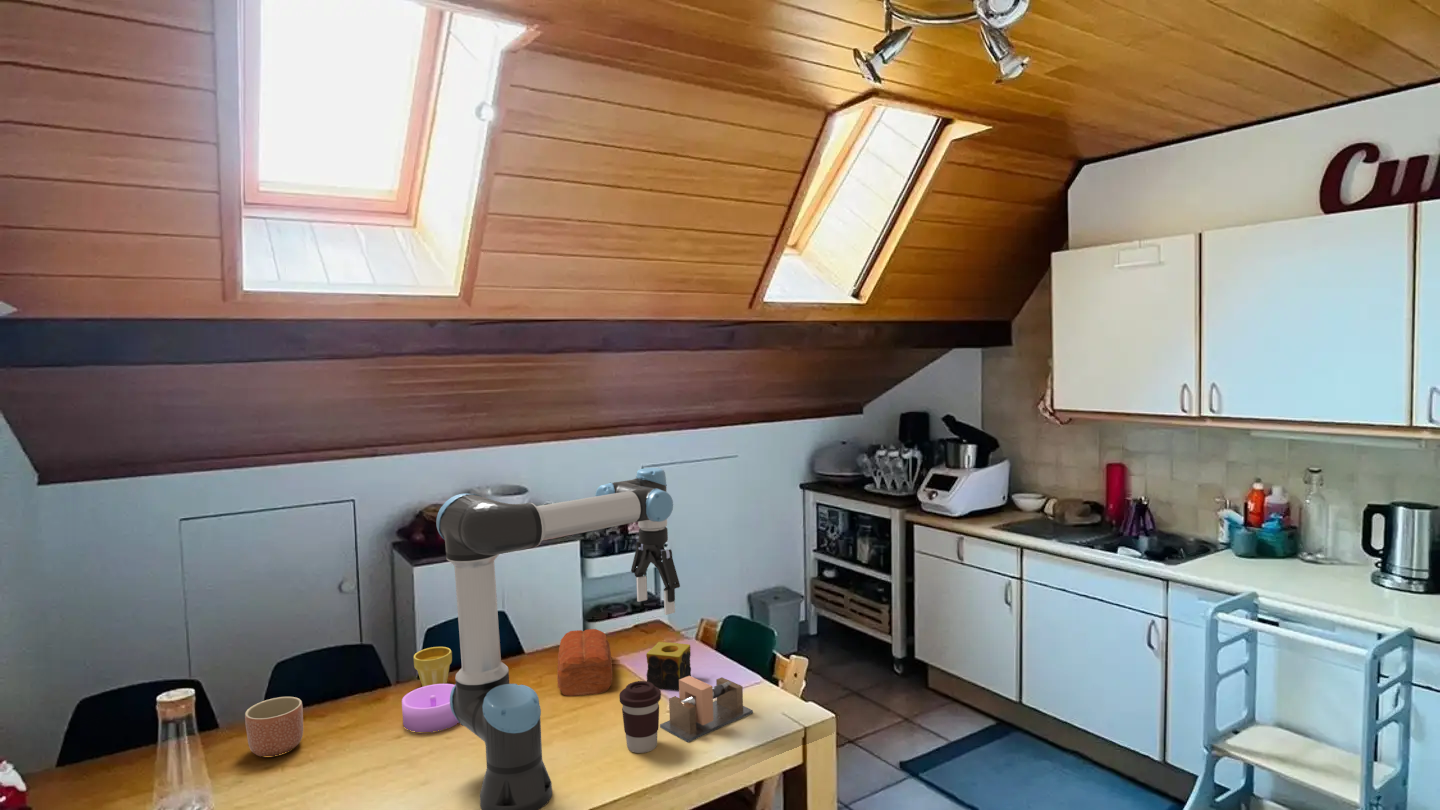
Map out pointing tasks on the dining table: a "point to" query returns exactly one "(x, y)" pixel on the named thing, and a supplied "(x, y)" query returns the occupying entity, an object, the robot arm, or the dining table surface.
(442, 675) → the plant pot
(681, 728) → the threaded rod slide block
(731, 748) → the dining table surface
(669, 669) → the candle
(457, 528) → the robot arm
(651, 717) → the coffee cup
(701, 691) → the collar
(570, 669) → the bread
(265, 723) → the planter
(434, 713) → the container set
